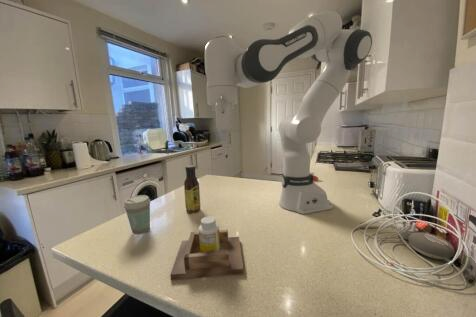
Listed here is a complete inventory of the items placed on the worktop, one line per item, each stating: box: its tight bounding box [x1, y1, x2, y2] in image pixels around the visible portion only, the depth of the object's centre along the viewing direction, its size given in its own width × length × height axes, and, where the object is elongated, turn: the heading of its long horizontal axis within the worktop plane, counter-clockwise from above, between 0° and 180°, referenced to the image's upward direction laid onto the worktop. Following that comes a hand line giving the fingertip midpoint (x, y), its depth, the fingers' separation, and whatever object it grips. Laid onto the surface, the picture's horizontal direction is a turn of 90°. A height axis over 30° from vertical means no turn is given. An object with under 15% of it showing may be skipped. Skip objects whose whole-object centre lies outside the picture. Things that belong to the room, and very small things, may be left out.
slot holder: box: [169, 229, 244, 281], centre depth 56 cm, size 18×14×5 cm
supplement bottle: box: [198, 216, 220, 253], centre depth 56 cm, size 6×6×10 cm
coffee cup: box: [123, 194, 151, 235], centre depth 72 cm, size 8×9×12 cm
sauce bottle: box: [183, 164, 201, 215], centre depth 85 cm, size 7×6×20 cm
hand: (225, 144), depth 62 cm, fingers open, 8 cm apart
